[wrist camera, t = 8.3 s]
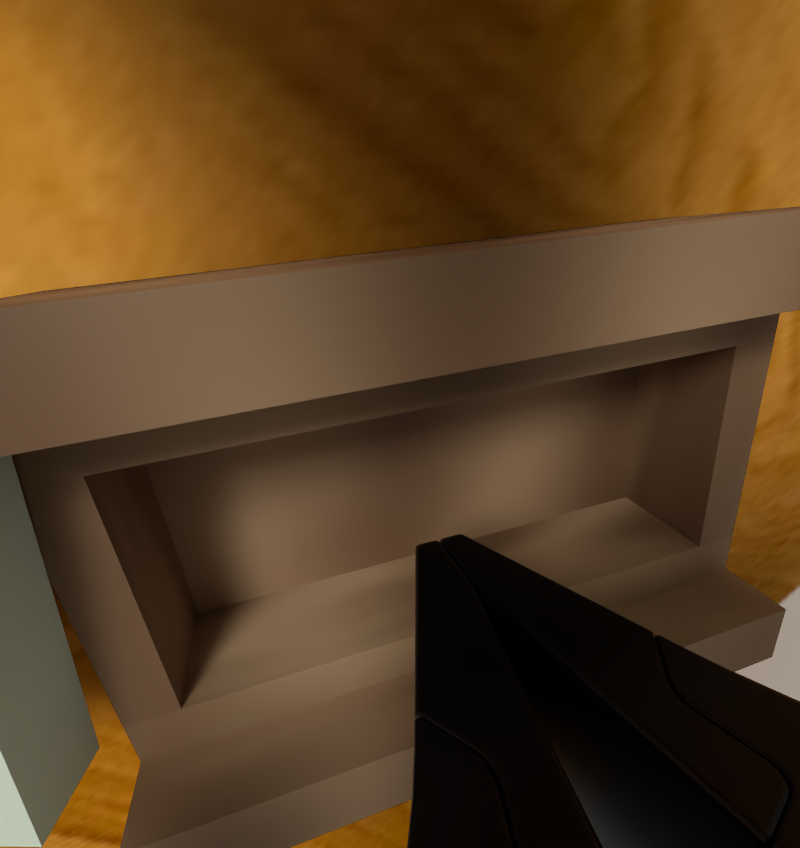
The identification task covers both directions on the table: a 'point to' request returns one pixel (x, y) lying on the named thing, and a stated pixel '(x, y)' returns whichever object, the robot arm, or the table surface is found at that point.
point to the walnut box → (379, 484)
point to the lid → (34, 685)
